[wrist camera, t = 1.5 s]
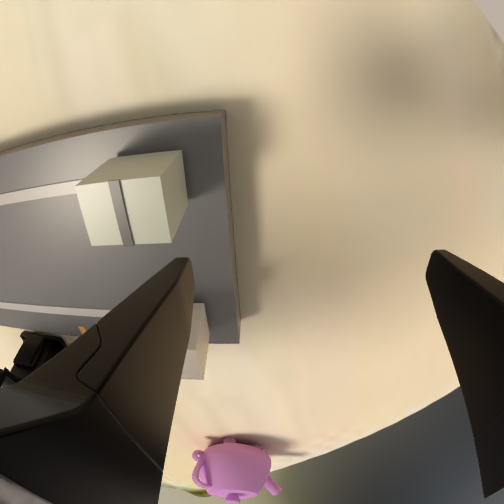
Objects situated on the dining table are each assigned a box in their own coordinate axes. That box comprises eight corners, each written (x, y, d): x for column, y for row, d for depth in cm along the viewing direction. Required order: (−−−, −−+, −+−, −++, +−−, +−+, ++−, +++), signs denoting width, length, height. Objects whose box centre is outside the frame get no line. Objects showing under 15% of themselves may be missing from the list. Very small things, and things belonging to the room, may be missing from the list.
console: (240, 320, 25) (239, 344, 23) (-6, 307, 26) (-17, 322, 24) (224, 110, 17) (220, 116, 14) (-61, 175, 17) (-78, 187, 15)
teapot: (212, 425, 36) (206, 489, 28) (300, 447, 41) (304, 501, 33) (180, 444, 41) (173, 498, 33) (260, 464, 45) (260, 512, 38)
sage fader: (188, 204, 17) (171, 245, 13) (121, 209, 17) (91, 248, 13) (181, 149, 15) (158, 176, 12) (110, 157, 15) (73, 186, 12)
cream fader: (209, 334, 22) (203, 381, 19) (156, 333, 22) (144, 377, 19) (204, 302, 20) (195, 350, 17) (146, 302, 21) (129, 347, 17)
